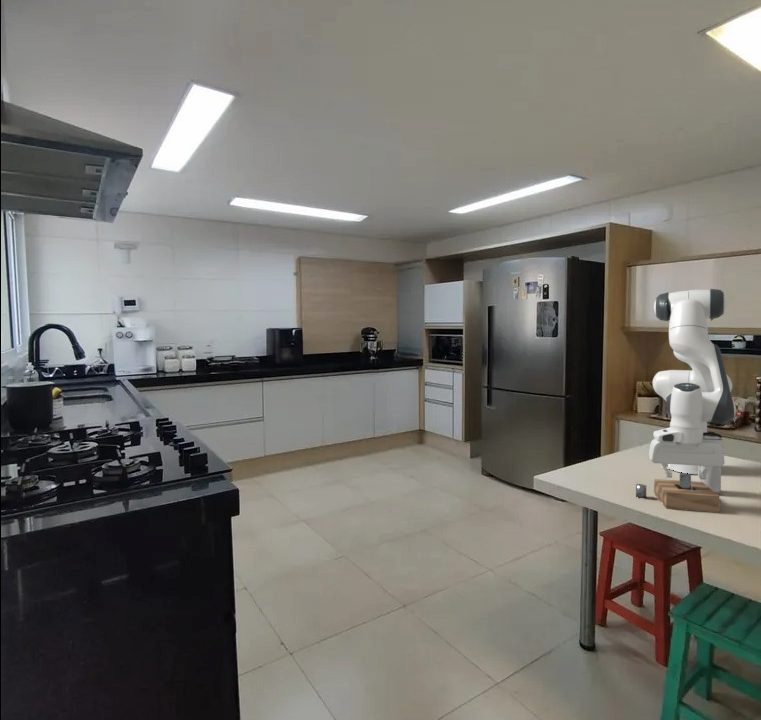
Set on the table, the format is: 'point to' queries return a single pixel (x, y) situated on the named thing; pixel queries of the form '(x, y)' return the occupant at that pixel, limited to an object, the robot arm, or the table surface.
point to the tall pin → (685, 481)
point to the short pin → (640, 491)
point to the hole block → (686, 496)
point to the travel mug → (712, 472)
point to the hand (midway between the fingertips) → (685, 478)
